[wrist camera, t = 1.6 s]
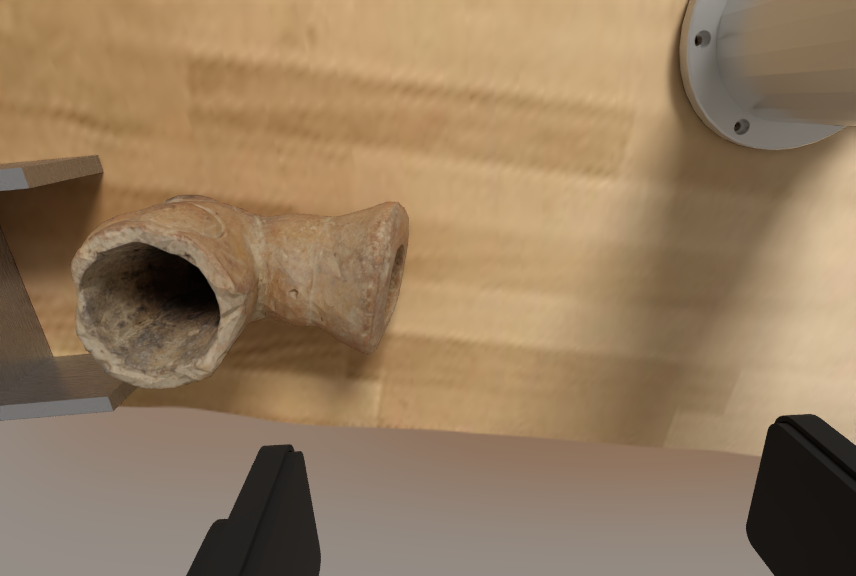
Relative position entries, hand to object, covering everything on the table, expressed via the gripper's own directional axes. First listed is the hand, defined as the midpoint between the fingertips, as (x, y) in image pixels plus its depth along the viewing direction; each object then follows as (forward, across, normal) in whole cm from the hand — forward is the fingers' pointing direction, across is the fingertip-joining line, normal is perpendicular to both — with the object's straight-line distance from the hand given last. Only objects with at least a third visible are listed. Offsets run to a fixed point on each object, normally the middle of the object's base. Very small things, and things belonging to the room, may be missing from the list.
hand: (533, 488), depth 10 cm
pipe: (+23, +11, +1) cm, 26 cm away
